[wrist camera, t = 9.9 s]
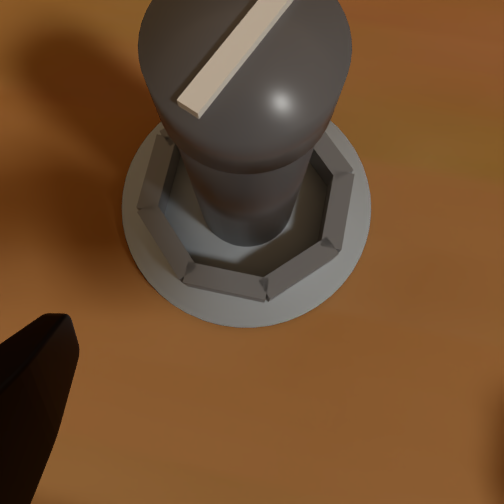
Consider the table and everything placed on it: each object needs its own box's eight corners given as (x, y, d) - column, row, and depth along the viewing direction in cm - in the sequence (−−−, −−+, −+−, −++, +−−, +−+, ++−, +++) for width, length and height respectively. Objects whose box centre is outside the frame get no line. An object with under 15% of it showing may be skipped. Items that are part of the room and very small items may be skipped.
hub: (346, 352, 21) (357, 353, 19) (95, 298, 21) (78, 293, 19) (384, 120, 24) (397, 97, 22) (159, 76, 24) (150, 49, 22)
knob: (259, 270, 21) (273, 178, 9) (177, 213, 22) (90, 57, 10) (315, 190, 22) (395, 12, 10) (235, 138, 23) (220, -89, 11)
